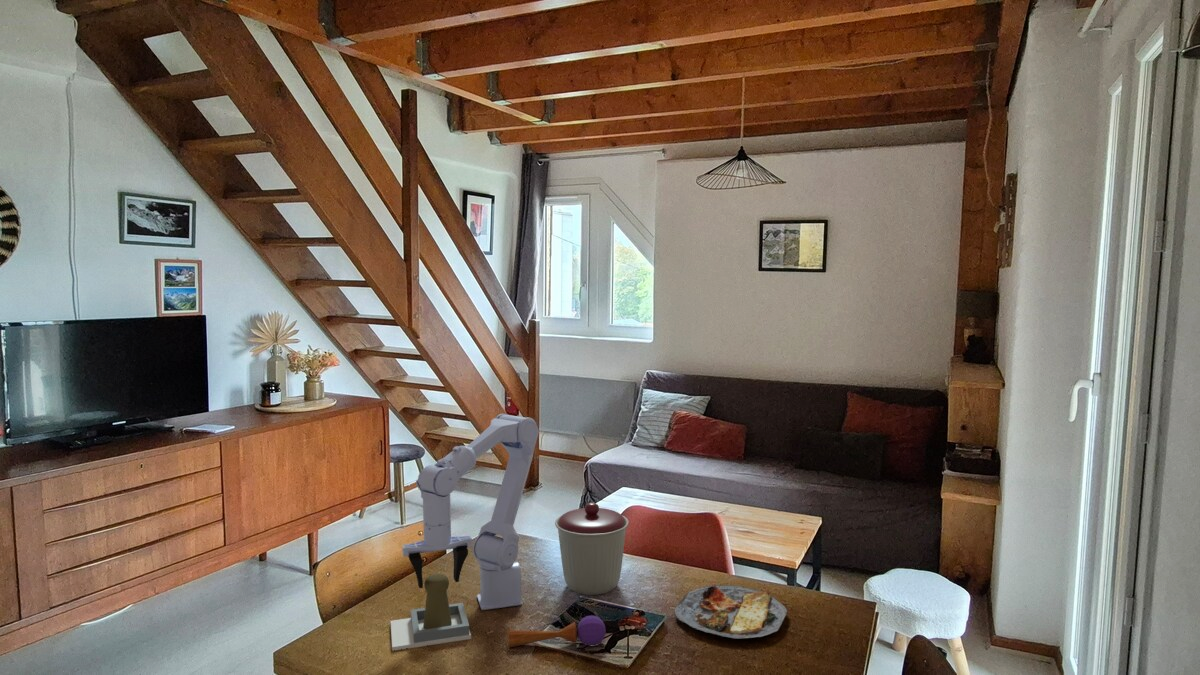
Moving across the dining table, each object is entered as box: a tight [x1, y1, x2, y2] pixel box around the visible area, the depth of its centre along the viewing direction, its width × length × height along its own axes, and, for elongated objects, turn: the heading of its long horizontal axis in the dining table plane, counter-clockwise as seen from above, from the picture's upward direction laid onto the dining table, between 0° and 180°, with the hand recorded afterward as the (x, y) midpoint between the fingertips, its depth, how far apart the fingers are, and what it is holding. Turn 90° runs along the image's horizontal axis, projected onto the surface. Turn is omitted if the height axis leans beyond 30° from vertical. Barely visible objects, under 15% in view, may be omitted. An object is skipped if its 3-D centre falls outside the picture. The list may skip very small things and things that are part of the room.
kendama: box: [508, 614, 607, 648], centre depth 149 cm, size 6×6×20 cm
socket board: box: [390, 602, 472, 652], centre depth 155 cm, size 16×12×3 cm
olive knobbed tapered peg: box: [423, 573, 452, 629], centre depth 156 cm, size 6×6×11 cm
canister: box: [554, 502, 630, 596], centre depth 177 cm, size 18×18×21 cm
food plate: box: [674, 584, 788, 640], centre depth 161 cm, size 25×23×4 cm
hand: (438, 583), depth 155 cm, fingers open, 7 cm apart
